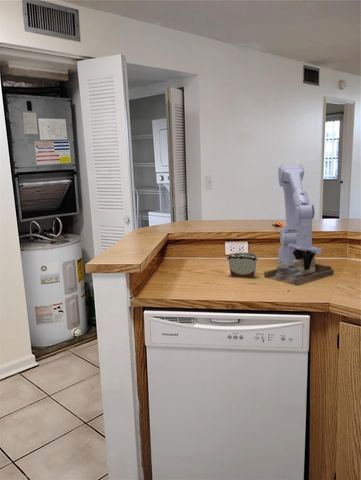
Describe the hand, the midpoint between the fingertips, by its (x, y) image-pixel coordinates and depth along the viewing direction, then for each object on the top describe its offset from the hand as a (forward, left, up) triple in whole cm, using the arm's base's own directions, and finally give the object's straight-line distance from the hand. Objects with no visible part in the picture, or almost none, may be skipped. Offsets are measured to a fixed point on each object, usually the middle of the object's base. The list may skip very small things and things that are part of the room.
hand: (303, 268), depth 164 cm
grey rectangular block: (0, 0, -2) cm, 2 cm away
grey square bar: (0, -9, -2) cm, 9 cm away
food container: (-15, -18, -3) cm, 24 cm away
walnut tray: (0, -3, -3) cm, 4 cm away
